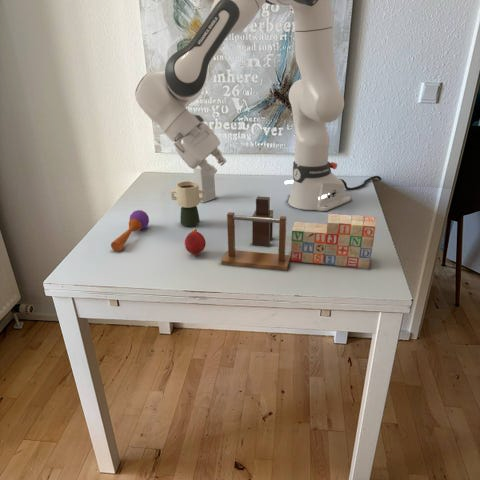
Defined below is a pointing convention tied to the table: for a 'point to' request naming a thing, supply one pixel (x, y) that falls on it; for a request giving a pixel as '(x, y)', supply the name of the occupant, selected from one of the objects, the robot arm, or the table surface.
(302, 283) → the table surface
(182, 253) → the table surface
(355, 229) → the stack of blocks
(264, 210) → the brown stepped block
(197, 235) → the onion
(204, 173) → the cosmetic box
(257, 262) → the rail
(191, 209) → the character mug
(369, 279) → the table surface
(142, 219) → the kendama
